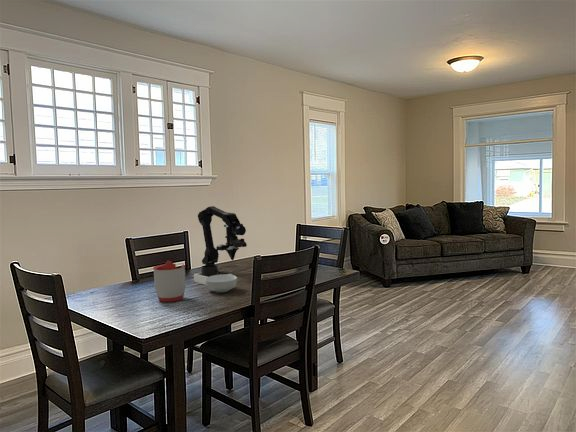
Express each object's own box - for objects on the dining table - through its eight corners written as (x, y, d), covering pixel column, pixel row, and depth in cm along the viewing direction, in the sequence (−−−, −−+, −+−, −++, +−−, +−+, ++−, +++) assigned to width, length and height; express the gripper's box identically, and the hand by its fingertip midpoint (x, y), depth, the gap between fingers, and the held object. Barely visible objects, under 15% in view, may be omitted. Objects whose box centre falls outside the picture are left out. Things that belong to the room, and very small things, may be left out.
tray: (194, 281, 266) (193, 273, 266) (214, 277, 276) (214, 269, 275) (211, 286, 253) (210, 278, 252) (232, 281, 263) (231, 273, 262)
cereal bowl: (199, 293, 239) (198, 280, 238) (218, 285, 253) (217, 273, 253) (225, 296, 231) (224, 282, 230) (243, 288, 245) (243, 275, 245)
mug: (215, 284, 257) (214, 268, 257) (198, 282, 263) (197, 267, 262) (225, 280, 266) (224, 265, 265) (208, 279, 271) (207, 264, 270)
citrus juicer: (195, 296, 232) (193, 257, 230) (171, 305, 217) (168, 264, 216) (173, 293, 240) (171, 256, 238) (148, 301, 225) (145, 262, 224)
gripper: (226, 237, 259) (227, 264, 261) (251, 233, 272) (252, 259, 273) (215, 235, 268) (216, 261, 269) (240, 232, 280) (241, 257, 282)
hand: (232, 260), depth 273 cm, fingers closed
